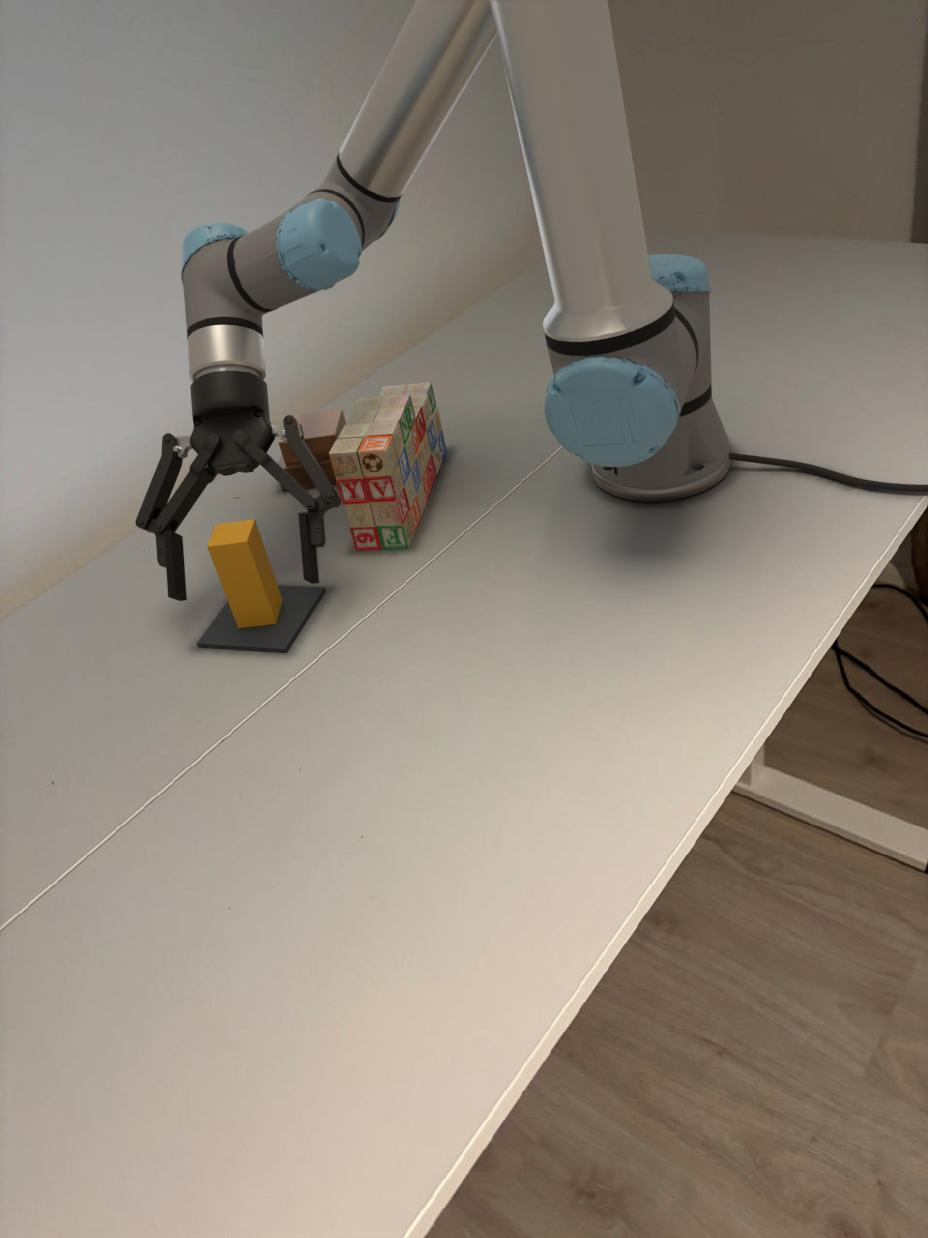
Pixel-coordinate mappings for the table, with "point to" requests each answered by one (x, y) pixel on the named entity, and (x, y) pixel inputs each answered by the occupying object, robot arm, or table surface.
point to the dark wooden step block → (314, 444)
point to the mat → (265, 637)
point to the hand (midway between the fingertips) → (244, 590)
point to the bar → (245, 573)
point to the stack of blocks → (388, 464)
